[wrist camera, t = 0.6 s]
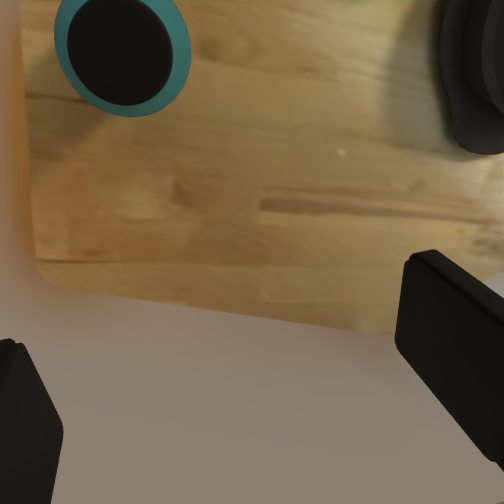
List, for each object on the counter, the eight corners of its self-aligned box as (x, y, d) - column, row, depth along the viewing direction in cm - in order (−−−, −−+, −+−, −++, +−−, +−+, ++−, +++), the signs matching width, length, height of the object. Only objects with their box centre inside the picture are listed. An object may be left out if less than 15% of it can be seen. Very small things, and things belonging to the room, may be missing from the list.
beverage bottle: (188, 32, 33) (241, 28, 16) (148, 103, 34) (155, 169, 17) (113, -26, 30) (77, -111, 13) (73, 55, 31) (-6, 77, 14)
